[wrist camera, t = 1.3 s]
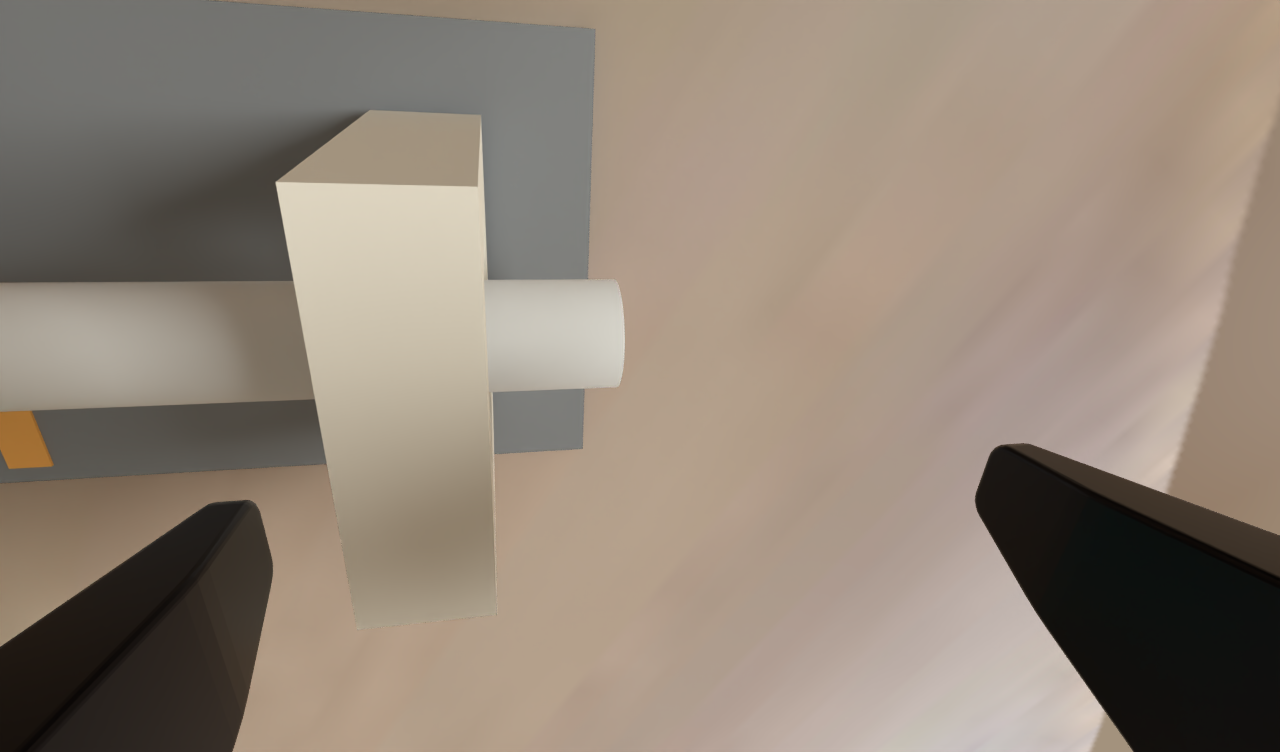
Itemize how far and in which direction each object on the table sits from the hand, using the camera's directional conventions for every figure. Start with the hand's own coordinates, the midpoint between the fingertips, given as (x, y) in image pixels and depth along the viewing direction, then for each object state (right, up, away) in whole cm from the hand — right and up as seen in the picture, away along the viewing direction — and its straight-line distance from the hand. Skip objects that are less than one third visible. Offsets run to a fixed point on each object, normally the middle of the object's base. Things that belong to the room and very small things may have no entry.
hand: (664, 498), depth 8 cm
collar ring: (-6, +5, +10) cm, 13 cm away
